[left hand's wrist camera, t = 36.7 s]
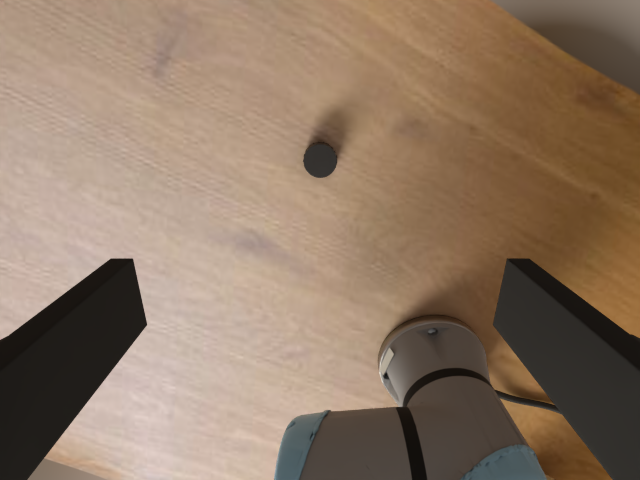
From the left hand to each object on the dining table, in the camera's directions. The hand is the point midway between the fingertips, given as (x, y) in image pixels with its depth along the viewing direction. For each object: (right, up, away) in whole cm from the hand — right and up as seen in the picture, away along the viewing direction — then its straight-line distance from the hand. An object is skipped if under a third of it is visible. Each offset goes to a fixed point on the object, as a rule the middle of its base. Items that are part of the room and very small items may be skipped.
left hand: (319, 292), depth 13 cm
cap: (0, +11, +28) cm, 30 cm away
